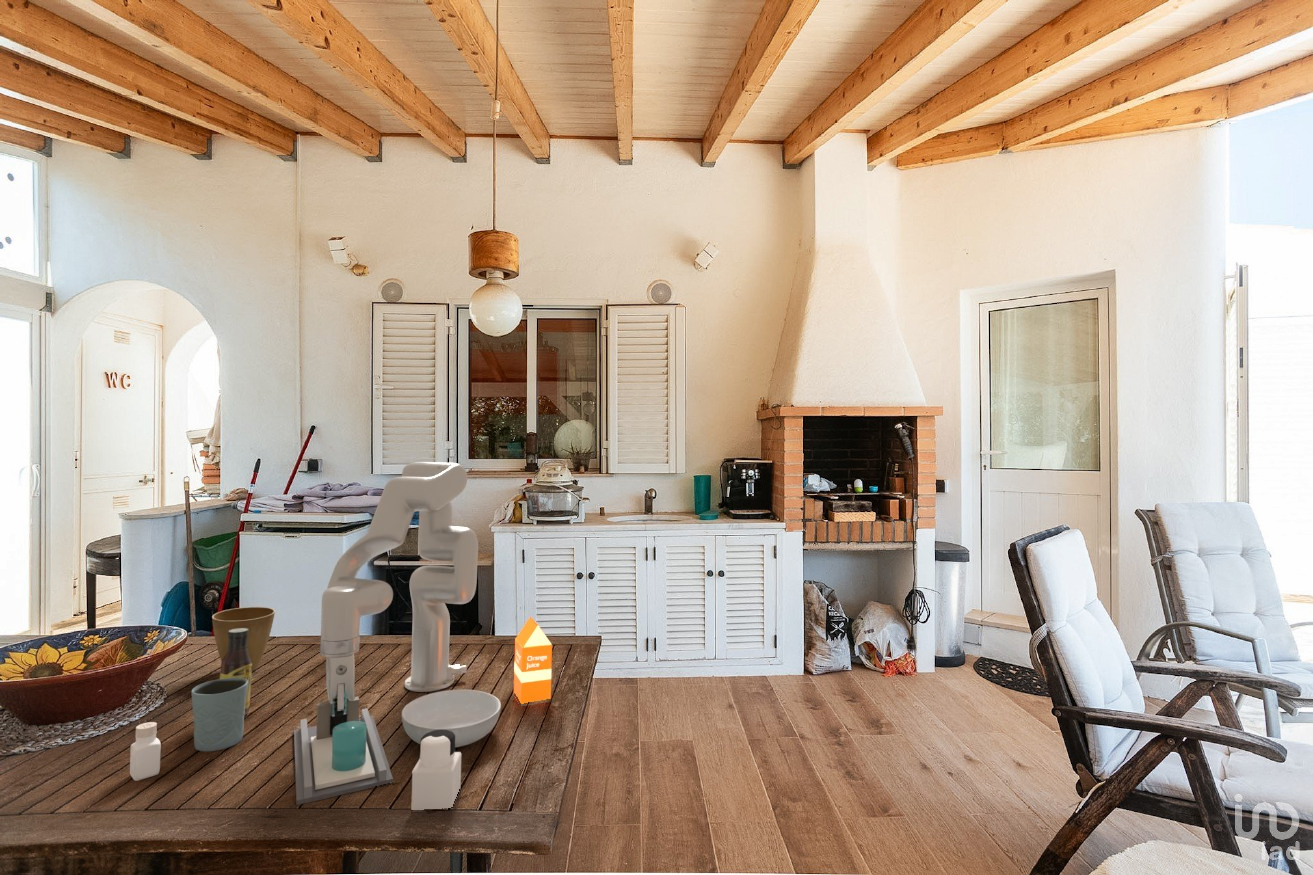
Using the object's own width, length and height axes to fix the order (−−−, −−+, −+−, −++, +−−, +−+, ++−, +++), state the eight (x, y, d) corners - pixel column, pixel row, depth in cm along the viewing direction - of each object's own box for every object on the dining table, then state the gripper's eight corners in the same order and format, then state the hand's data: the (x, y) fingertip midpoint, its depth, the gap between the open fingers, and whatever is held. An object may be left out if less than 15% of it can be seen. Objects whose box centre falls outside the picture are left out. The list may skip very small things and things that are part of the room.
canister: (363, 753, 129) (364, 718, 129) (367, 766, 124) (368, 730, 124) (330, 760, 126) (331, 724, 126) (332, 773, 121) (333, 736, 121)
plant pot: (199, 681, 170) (201, 621, 170) (223, 662, 184) (225, 607, 185) (262, 677, 173) (264, 618, 174) (280, 659, 188) (282, 605, 188)
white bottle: (421, 790, 119) (423, 725, 119) (460, 789, 120) (462, 725, 120) (410, 812, 112) (412, 743, 112) (451, 811, 113) (453, 742, 113)
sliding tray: (362, 731, 141) (363, 695, 141) (374, 776, 122) (375, 735, 122) (310, 740, 136) (312, 703, 136) (315, 789, 117) (316, 746, 117)
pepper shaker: (154, 767, 125) (156, 719, 125) (160, 774, 123) (162, 724, 123) (128, 775, 122) (130, 725, 122) (134, 782, 119) (135, 731, 120)
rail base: (372, 719, 149) (373, 707, 149) (392, 782, 121) (393, 767, 121) (294, 733, 141) (294, 720, 141) (296, 804, 113) (296, 789, 113)
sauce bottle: (233, 722, 146) (236, 635, 146) (210, 719, 147) (213, 633, 147) (256, 711, 152) (259, 627, 152) (234, 708, 153) (237, 625, 154)
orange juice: (520, 707, 158) (522, 626, 158) (513, 694, 166) (515, 617, 166) (551, 702, 161) (553, 623, 161) (542, 690, 169) (544, 614, 169)
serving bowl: (406, 769, 126) (407, 735, 127) (396, 727, 145) (397, 697, 145) (510, 749, 136) (511, 716, 136) (488, 712, 155) (489, 683, 155)
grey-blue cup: (202, 757, 129) (204, 698, 130) (180, 744, 135) (182, 687, 135) (255, 738, 138) (257, 683, 138) (232, 727, 143) (234, 673, 144)
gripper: (363, 652, 133) (360, 742, 132) (355, 632, 146) (353, 713, 146) (322, 658, 129) (319, 750, 128) (318, 637, 143) (316, 720, 142)
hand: (337, 729), depth 137 cm, fingers closed on sliding tray, 2 cm apart
